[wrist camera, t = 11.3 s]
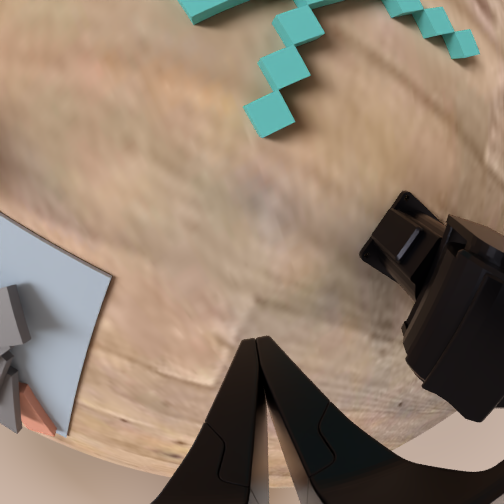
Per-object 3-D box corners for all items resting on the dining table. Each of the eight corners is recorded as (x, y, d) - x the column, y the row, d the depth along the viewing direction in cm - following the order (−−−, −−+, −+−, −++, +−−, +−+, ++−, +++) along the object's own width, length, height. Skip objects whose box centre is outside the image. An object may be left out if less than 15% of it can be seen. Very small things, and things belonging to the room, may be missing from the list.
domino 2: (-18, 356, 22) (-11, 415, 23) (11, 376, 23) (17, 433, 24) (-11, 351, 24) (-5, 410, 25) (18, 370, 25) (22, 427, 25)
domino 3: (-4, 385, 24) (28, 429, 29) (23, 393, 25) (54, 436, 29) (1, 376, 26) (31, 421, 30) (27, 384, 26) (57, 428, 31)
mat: (112, 275, 22) (110, 278, 21) (66, 435, 32) (66, 437, 32) (-29, 193, 17) (-32, 194, 17) (-20, 385, 27) (-21, 387, 27)
